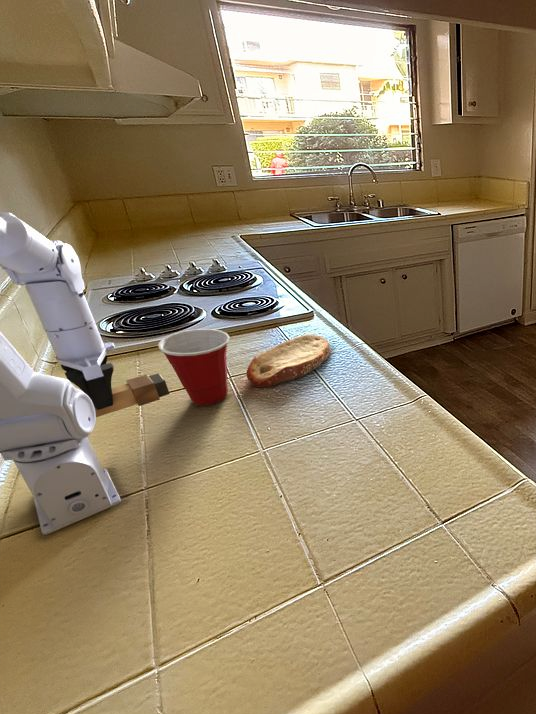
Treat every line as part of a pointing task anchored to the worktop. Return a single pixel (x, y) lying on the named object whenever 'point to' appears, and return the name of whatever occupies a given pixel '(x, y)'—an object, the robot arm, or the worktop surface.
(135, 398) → the brush
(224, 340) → the plastic cup
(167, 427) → the worktop surface
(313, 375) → the worktop surface
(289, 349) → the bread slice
